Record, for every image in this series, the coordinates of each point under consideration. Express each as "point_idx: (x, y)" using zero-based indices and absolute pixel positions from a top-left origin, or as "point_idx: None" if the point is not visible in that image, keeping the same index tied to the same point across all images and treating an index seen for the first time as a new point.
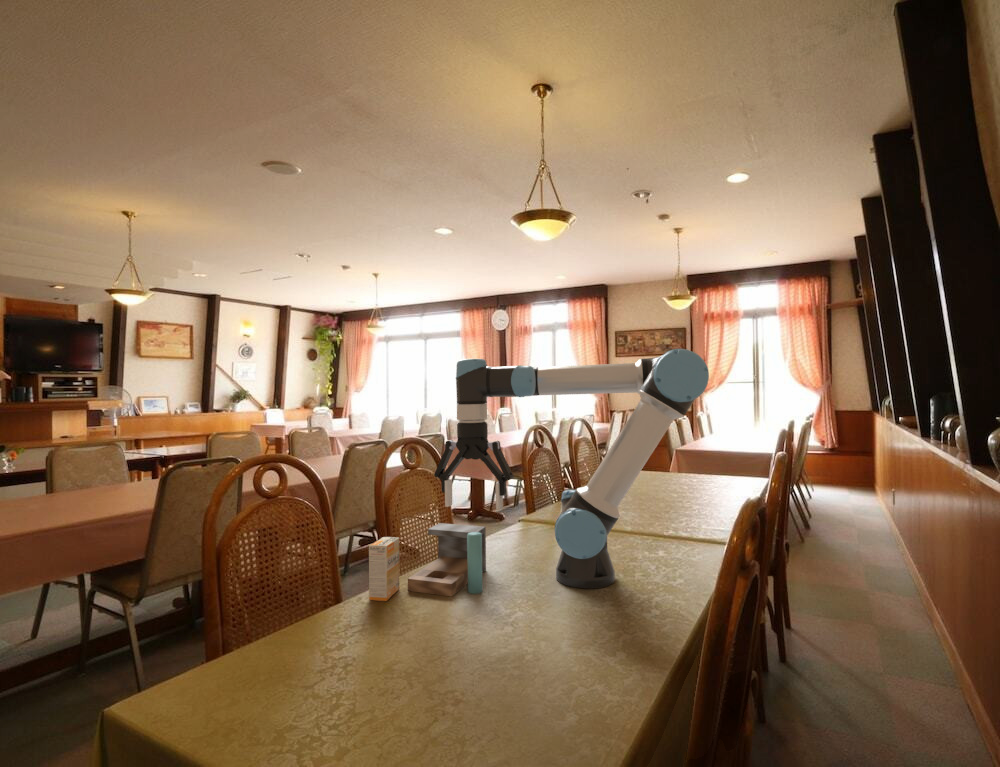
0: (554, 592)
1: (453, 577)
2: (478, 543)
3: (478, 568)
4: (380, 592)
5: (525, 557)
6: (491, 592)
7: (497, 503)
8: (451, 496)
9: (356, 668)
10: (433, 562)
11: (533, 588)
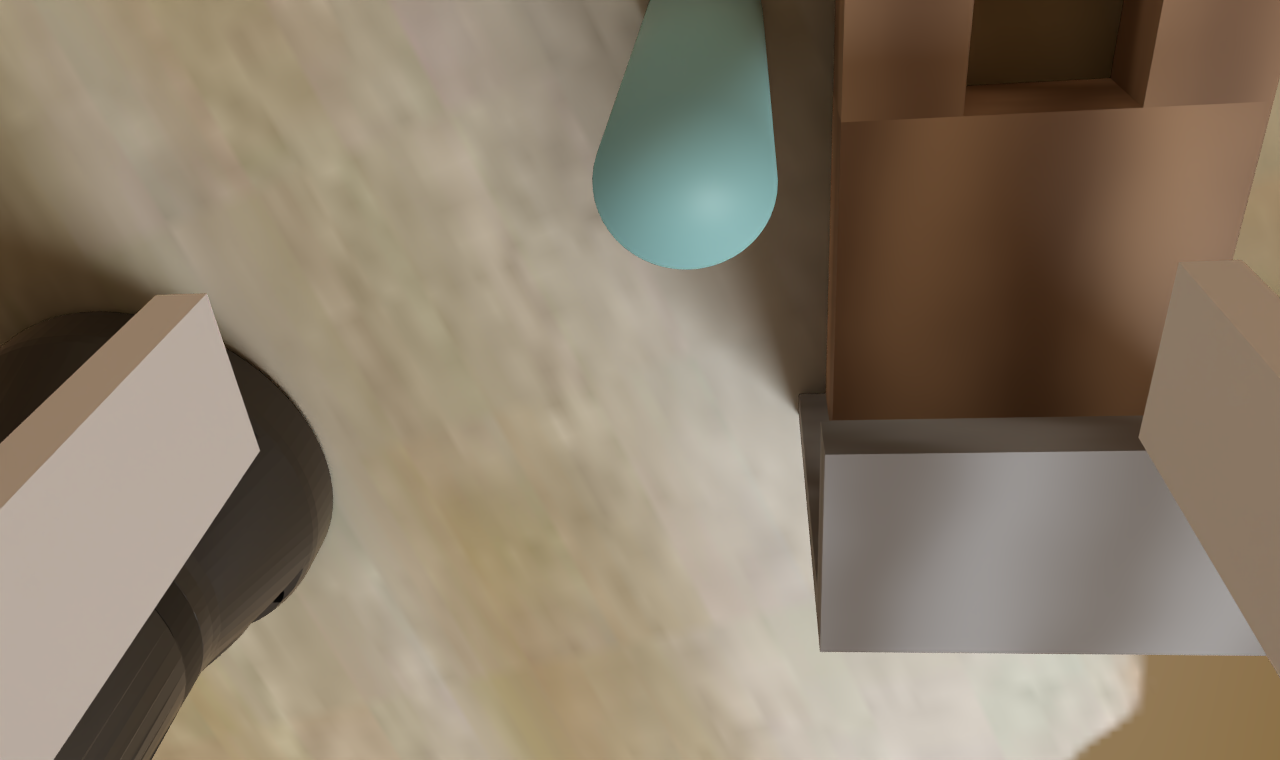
0: (190, 201)
1: (898, 2)
2: (614, 107)
3: (641, 32)
4: None
5: (651, 673)
6: (575, 42)
7: (123, 351)
8: (1208, 513)
9: None
10: None
11: (346, 221)
